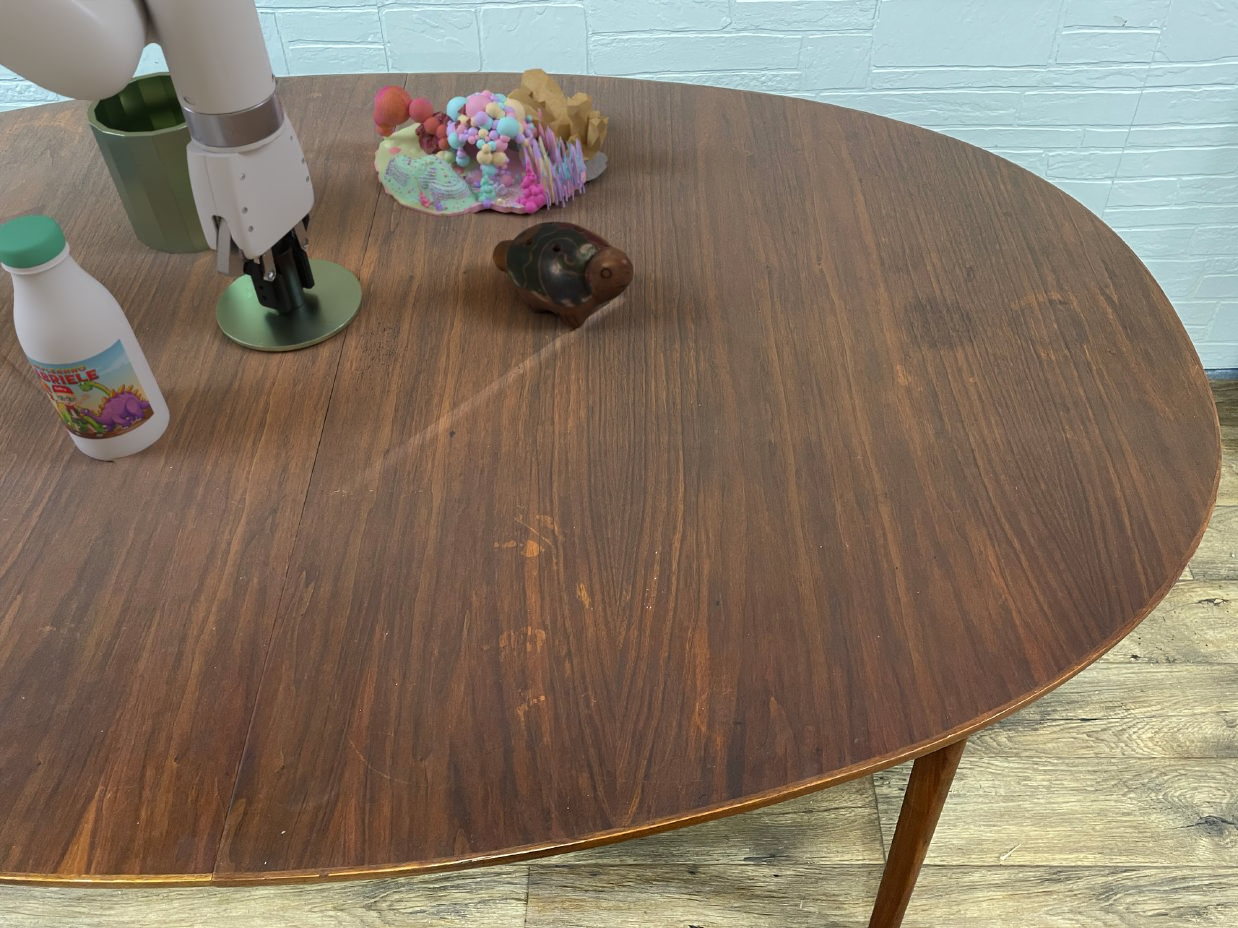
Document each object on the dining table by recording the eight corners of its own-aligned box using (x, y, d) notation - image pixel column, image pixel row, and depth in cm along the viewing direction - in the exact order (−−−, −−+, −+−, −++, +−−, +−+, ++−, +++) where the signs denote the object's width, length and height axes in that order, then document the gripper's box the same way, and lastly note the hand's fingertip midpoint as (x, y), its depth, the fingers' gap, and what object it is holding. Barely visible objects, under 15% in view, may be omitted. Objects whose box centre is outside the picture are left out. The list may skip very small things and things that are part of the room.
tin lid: (273, 377, 92) (252, 313, 87) (191, 312, 98) (166, 250, 93) (392, 307, 99) (380, 244, 93) (308, 250, 105) (292, 189, 100)
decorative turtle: (615, 355, 94) (606, 284, 88) (475, 317, 99) (457, 248, 93) (662, 290, 99) (656, 220, 93) (526, 258, 105) (512, 189, 99)
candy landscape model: (531, 91, 127) (526, 16, 120) (646, 175, 114) (647, 96, 107) (344, 156, 118) (326, 78, 111) (446, 256, 104) (433, 175, 98)
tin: (178, 273, 103) (129, 150, 93) (114, 225, 109) (62, 105, 99) (283, 219, 109) (248, 99, 99) (217, 177, 115) (178, 59, 105)
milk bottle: (91, 401, 90) (-14, 202, 76) (181, 396, 91) (93, 197, 76) (65, 466, 85) (-53, 266, 71) (160, 461, 86) (62, 260, 71)
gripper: (256, 61, 90) (304, 239, 103) (127, 153, 80) (199, 338, 93) (330, 76, 88) (369, 257, 101) (207, 173, 78) (269, 359, 91)
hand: (287, 294), depth 97 cm, fingers closed on tin lid, 3 cm apart
